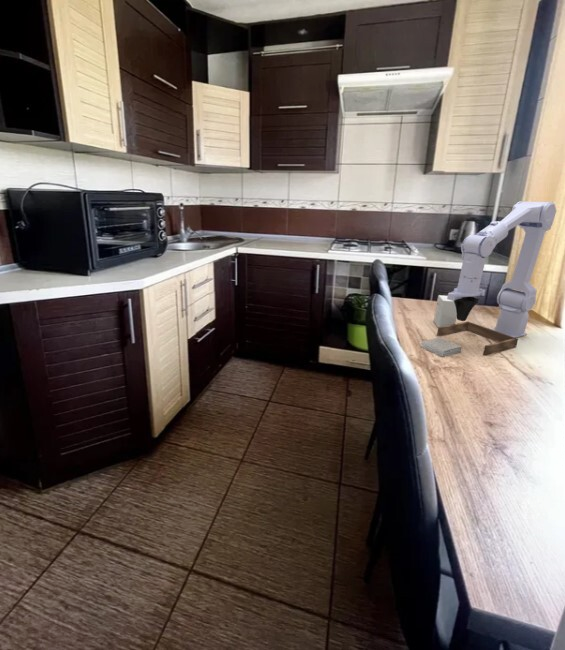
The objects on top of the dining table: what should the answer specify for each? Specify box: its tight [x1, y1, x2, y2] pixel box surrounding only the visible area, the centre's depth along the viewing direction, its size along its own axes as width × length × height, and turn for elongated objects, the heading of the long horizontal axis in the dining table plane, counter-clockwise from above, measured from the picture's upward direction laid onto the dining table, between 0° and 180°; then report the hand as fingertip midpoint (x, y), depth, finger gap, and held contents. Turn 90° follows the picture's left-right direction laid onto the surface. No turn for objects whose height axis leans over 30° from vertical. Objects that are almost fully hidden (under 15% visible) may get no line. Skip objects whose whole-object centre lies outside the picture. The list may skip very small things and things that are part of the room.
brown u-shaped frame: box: [436, 320, 519, 356], centre depth 113 cm, size 15×18×3 cm
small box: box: [433, 294, 457, 328], centre depth 126 cm, size 8×6×10 cm
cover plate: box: [420, 336, 463, 358], centre depth 106 cm, size 8×8×2 cm
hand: (461, 320), depth 107 cm, fingers closed
